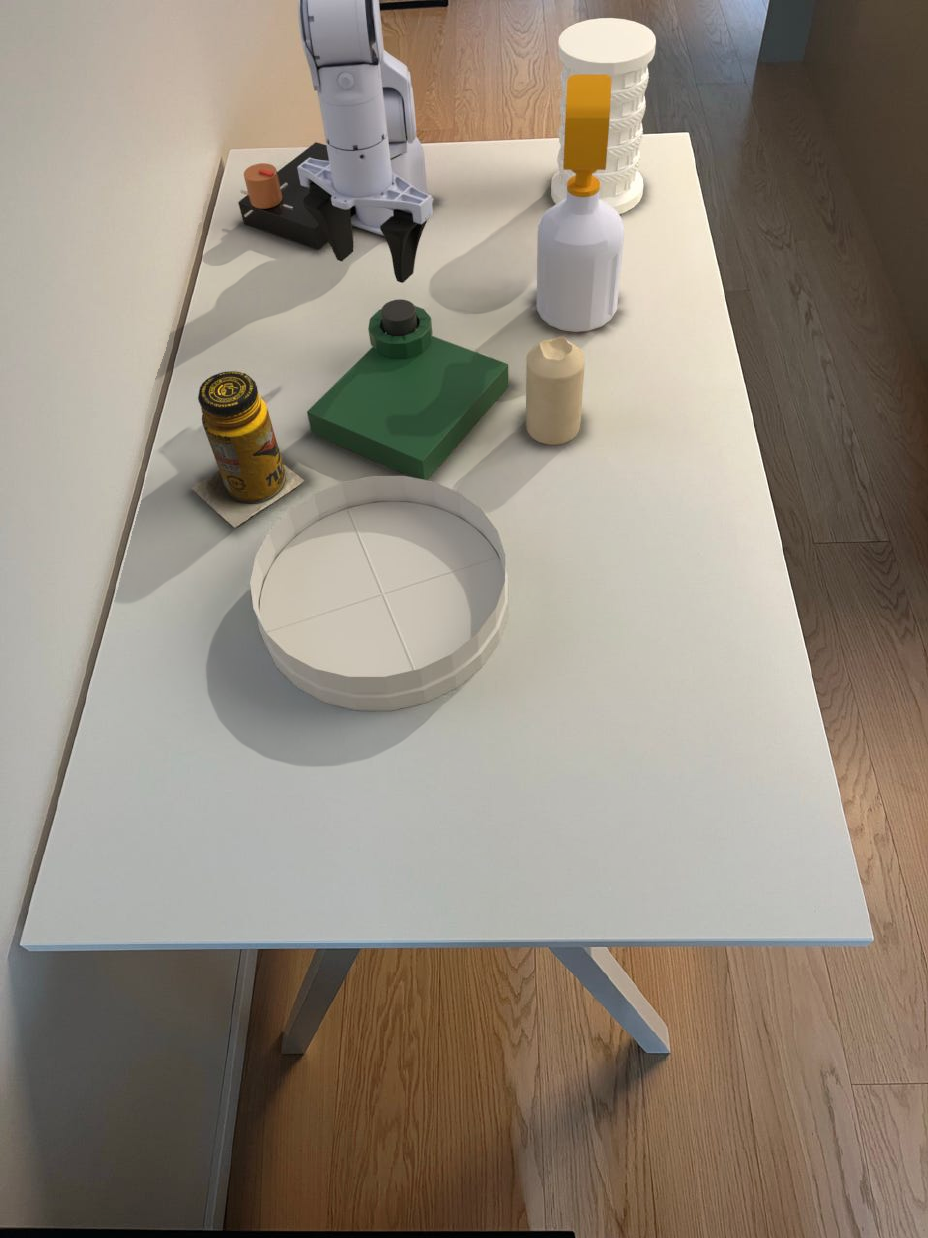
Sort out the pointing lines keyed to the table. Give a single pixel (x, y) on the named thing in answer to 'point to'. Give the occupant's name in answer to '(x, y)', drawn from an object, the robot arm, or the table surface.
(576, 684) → the table surface
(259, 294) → the table surface
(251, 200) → the dial
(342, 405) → the button base
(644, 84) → the decorative container
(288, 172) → the panel
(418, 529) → the dish
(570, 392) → the candle
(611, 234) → the soap bottle
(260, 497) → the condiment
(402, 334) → the dark grey short cylinder
